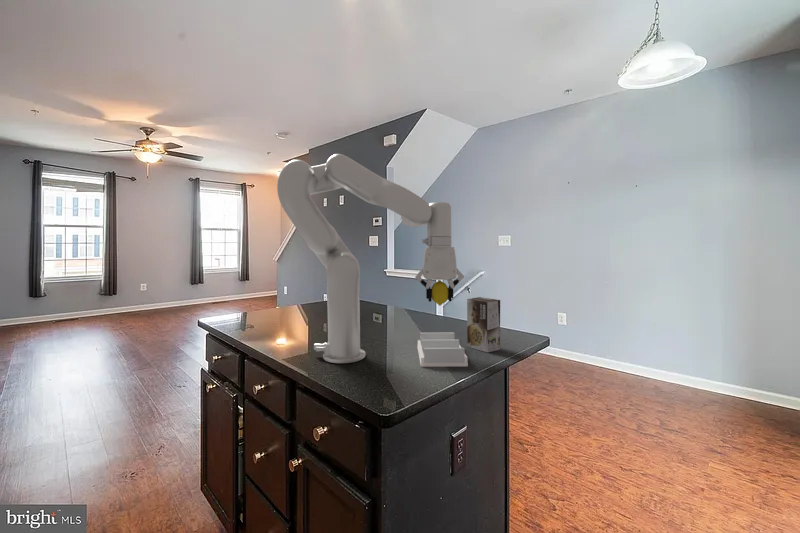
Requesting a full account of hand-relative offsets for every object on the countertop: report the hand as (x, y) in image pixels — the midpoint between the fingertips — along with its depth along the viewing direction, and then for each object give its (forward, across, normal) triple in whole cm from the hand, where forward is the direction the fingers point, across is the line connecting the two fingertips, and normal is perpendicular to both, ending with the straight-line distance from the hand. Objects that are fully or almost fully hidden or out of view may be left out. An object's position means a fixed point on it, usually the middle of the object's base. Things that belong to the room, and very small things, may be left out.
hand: (439, 300), depth 112 cm
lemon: (+2, 0, 0) cm, 2 cm away
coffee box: (+17, +14, +4) cm, 23 cm away
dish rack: (+16, 0, -4) cm, 17 cm away
